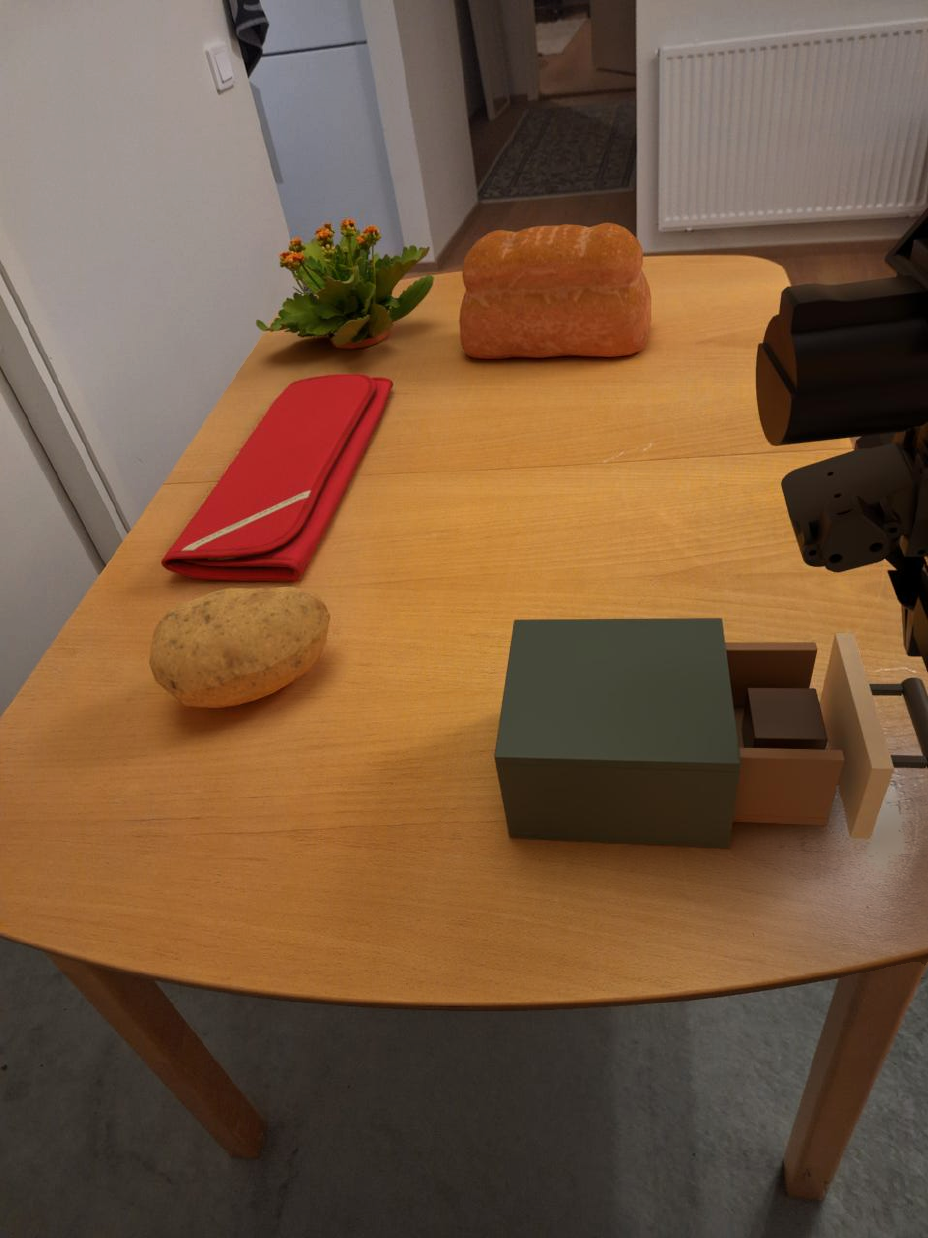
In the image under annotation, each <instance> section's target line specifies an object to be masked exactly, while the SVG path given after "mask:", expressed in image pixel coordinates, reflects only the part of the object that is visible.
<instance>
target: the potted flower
mask: <svg viewBox="0 0 928 1238" xmlns="http://www.w3.org/2000/svg"><path fill="white" fill-rule="evenodd" d="M339 224H340V229H339V230H340V231H339V232H340V234H341V235H342V236H341V238H340V241H339V242H338V243H339V244H338V243H336V245H335V240H334V236H335V233H336V230H335V229H334V228H333V227H332V222H323V223H321V225H319V227H318V229H316V230H315V232H314V235H315V237H313V238H312V239H310V242H302V238H300V237H295V238H291V239H290V241H289V244H288V251H286V250H285V251H283V252H281V253H280V254H279V255H278V257H279V260H280V261H279V267H280V268H286V269H287V270H288V271H290V272H291V274H292V277H293V278H294V280H295V282H296V284H297V285H298V287H299V288H300V289H298V288H296V287H295V286H292V288H293V289H294V290H295V291H296V292H295V291H294V292H293V294H292V298H290V297H286V299H285V301H283V303H282V304H281V307H282V309H280V310H278V312H277V313H278V317H275V319H273V322H271V323H270V326H269V327H268V326H267V325H266V324H265V323H264V322H263V321H262V320H260V319H256V321H255V326H256V327H257V328H258V329H259V330H261V331H262V332H267V331H269V332H271V333H273V332H279V331H284V333H292V334H297V336H298V337H300V338H312V337H313V338H314V337H322V336H325V337H327V336H328V337H329V340H330V343H332V346H334V347H336V348H337V349H345V350H356V349H362V348H367V347H371V346H374V345H376V344H379V343H381V342H382V341H384V340H386V339H387V338H388V337H389V336H390V335H391V332H392V327H393V326H394V325H393V324H394V322H397V321H400V320H401V319H403V318H405V317H407V316H408V315H409V314H411V313H412V312H413V311H414V310H415V309H416V308H417V307H418V306H419V305H420V304H421V303H422V302H423V300H424V299H425V298H426V297H427V296H428V294H429V293H430V291H431V289H432V288H433V286H434V281H435V277H434V276H433V275H431V274H428V275H426V276H422V277H420V278H418V280H414V282H413V283H412V284H410V285H408V286H407V287H406V289H404V290H403V291H402V292H401V294H399V296H398V297H394V296H393V291H394V289H395V288H396V286H397V285H398V283H399V282H400V281H401V280H402V279H403V278H404V277H405V276H406V274H408V272H409V271H410V270H412V269H413V268H414V267H415V266H416V265H417V264H418V263H420V262H421V261H422V260H423V259H425V257H427V256H428V255H429V251H430V249H431V248H430V246H427V247H422V246H420V247H419V248H418V249H417V246H416V245H413V244H411V245H409V247H407V246H406V245H405V246H404V247H403V249H402V253H401V256H400V254H399V255H398V254H396V255H394V256H393V257H392V259H391V257H390V255H389V254H388V253H385V254H384V255H383V257H382V258H381V257H380V254H379V252H378V251H377V252H375V251H374V250H375V249H374V248H375V247H374V246H377V242H379V241H380V240H381V239H382V235H380V234H381V232H380V229H379V227H378V226H376V225H375V224H371V225H369V226H366V227H364V230H363V232H361V230H360V229H357V226H356V221H355V220H354V219H352V218H351V219H350V218H345V219H344V220H342V221H341V222H340V223H339ZM322 225H323V226H322ZM370 254H371V261H370V259H369V258H370ZM369 265H370V266H369ZM300 282H301V283H302V284H303V285H304V286H305V287H307V289H308V290H305V289H304V287H303V285H302V284H301V283H300ZM300 290H301V291H300Z"/></svg>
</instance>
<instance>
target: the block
mask: <svg viewBox="0 0 928 1238" xmlns="http://www.w3.org/2000/svg"><path fill="white" fill-rule="evenodd" d="M817 691H818V690H817V688H815V687H810V688H747V692H746V699H745V707H744V714H743V722H742V736H743V743H744V748H772V749H814V750H827V749H826V748H827V746H828V745H827V744H828V738H827V734H826V730H825V725H824V721H823V717H822V713H821V708H820V704H819V703H820V699H819V696H818V692H817Z"/></svg>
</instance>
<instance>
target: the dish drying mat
mask: <svg viewBox="0 0 928 1238" xmlns="http://www.w3.org/2000/svg"><path fill="white" fill-rule="evenodd" d="M393 388H394V382H393V380H392V379H391V378H387V377H383V376H381V377H380V376H378V377H377V376H375V377H370V376H368V375H366V374H363V373H338V374H336V373H335V374H326V375H319V376H313V377H308V378H303V379H300V380H296V381H293V382H291V383H290V384H288V385H287V386H286V387H285V388H284V389H283V391H282V392H281V393H280V394H279V395H278V396H277V397H276V398H275V399H274V401H273V402H272V403H271V405H270V407H269V408H268V409H267V411H266V413H265V414H264V416H263V417H262V418H261V420H260V421H259V423H258V424H257V426H256V427H255V428H254V430H253V431H252V433H250V435H249V437H248V438H247V440H246V441H245V443H244V444H243V445H242V447H241V448H240V450H239V452H238V453H237V455H236V456H235V457H234V459H233V460H232V462H231V463H230V464H229V466H228V467H227V468H226V470H225V471H224V473H223V475H221V477H220V479H219V480H218V481H217V483H216V484H215V486H214V487H213V488H212V490H211V491H210V493H209V494H208V495H207V497H206V498H205V500H204V501H203V503H202V504H201V505H200V507H199V508H198V509H197V511H196V512H195V513H194V515H193V516H192V518H191V519H190V520H189V522H188V523H187V524H186V526H185V527H184V529H183V530H182V531H181V532H180V534H179V536H178V537H177V538H176V540H175V541H174V542H173V543H172V545H171V547H170V548H169V549H168V550H167V552H166V554H165V555H164V556H163V558H162V559H161V561H160V564H161V565H162V567H163V568H165V569H166V570H168V571H170V572H172V573H173V574H178V575H182V576H183V577H184V576H185V577H189V578H193V579H200V580H208V581H209V580H210V581H243V582H244V581H250V582H251V581H253V582H254V581H255V582H256V581H257V582H258V581H259V582H260V581H261V582H288V583H289V582H296V581H298V580H299V579H300V578H301V576H302V575H303V573H304V572H305V570H306V568H307V566H308V564H309V563H310V560H311V558H312V557H313V555H314V553H315V552H316V550H317V548H318V546H319V544H320V542H321V540H322V539H323V536H325V533H326V531H327V529H328V527H329V525H330V523H331V522H332V519H333V517H334V515H335V513H336V511H337V509H338V507H339V505H340V504H341V501H342V499H343V497H344V495H345V493H346V490H347V489H348V486H349V484H350V482H351V479H352V477H353V475H354V473H355V472H356V469H357V467H358V466H359V463H360V462H361V460H362V457H363V455H364V453H365V451H366V449H367V447H368V445H369V443H370V441H371V439H372V436H373V435H374V432H375V430H376V427H377V426H378V423H379V422H380V420H381V417H382V416H383V413H384V410H385V407H386V405H387V402H388V399H389V397H390V394H391V392H392V389H393Z"/></svg>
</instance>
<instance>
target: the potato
mask: <svg viewBox="0 0 928 1238" xmlns="http://www.w3.org/2000/svg"><path fill="white" fill-rule="evenodd" d="M330 621H331V614H330V612H329V610H328V608H327V606H326V604H325V602H324V600H323V599H322V597H321V596H320V595H319V594H318V593H316V592H315V591H313V590H312V589H306V588H301V587H296V586H295V587H294V586H276V587H275V586H274V587H259V588H258V587H257V588H247V587H246V588H245V587H243V588H242V587H227V588H223V589H219V590H215V591H212V592H209V593H208V594H205V595H202V596H200V597H198V598H195V599H191V600H189V601H185V602H182V603H180V604H178V605H176V606H174V607H172V608H170V609H168V611H166V613H165V614H164V615H163V616H162V618H161V619H160V620H159V621H158V623H157V625H156V627H155V629H154V630H153V631H154V632H153V635H152V640H151V643H150V652H149V660H148V664H149V667H150V671H151V673H152V676H153V679H154V682H155V683H157V684H158V685H159V686H160V687H161V688H162V689H164V690H165V691H166V692H167V693H169V695H171V696H172V697H173V698H175V699H176V700H177V701H178V702H179V703H180V704H181V705H183V706H184V707H195V708H210V709H211V708H213V709H222V708H227V707H228V708H229V707H235V706H239V705H242V704H246V703H249V702H253V701H257V700H259V699H262V698H264V697H268V696H269V695H272V694H274V693H276V692H277V691H279V690H281V689H282V688H284V687H286V686H287V685H289V684H291V683H292V682H294V681H295V680H297V679H298V678H300V677H301V676H302V675H304V674H305V673H306V672H308V671H309V670H310V669H311V668H312V667H313V666H314V664H316V662H317V661H318V660H319V659H320V657H321V654H322V652H323V650H324V648H325V645H326V642H327V638H328V633H329V626H330Z"/></svg>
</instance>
